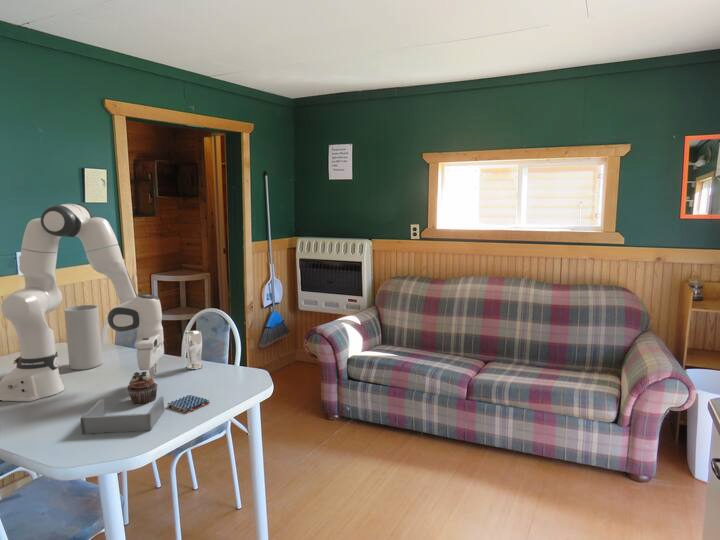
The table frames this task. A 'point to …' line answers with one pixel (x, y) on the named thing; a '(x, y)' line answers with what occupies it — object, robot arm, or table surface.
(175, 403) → the woven mat
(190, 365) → the beer glass
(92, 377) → the table surface
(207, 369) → the table surface
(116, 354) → the table surface
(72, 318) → the cylinder vase
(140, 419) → the box
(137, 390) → the cupcake
